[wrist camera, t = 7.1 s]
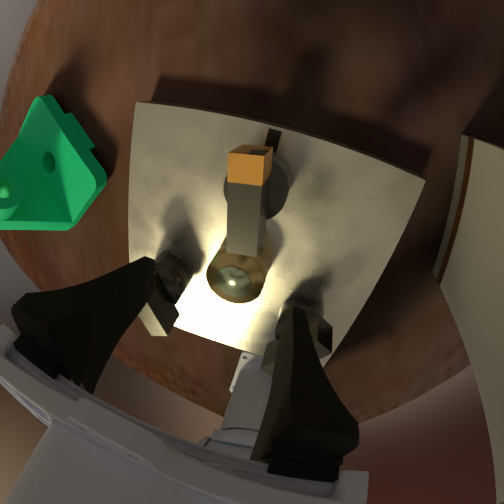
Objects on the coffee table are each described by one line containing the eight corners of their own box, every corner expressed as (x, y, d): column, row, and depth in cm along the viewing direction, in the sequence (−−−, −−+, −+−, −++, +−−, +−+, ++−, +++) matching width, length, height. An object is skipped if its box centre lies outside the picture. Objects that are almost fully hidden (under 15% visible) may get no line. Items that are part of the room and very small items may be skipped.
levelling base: (321, 356, 27) (316, 414, 22) (142, 297, 29) (108, 341, 23) (416, 172, 17) (457, 209, 11) (150, 100, 18) (87, 109, 12)
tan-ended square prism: (286, 220, 19) (275, 260, 14) (234, 213, 19) (208, 249, 15) (295, 142, 16) (286, 158, 12) (237, 136, 17) (207, 151, 12)
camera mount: (118, 175, 22) (30, 226, 14) (83, 219, 26) (13, 272, 17) (57, 89, 19) (-30, 109, 10) (30, 140, 22) (-42, 172, 14)
